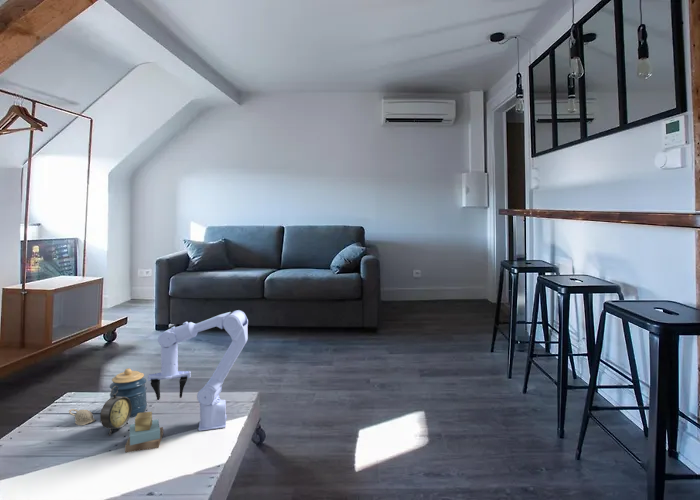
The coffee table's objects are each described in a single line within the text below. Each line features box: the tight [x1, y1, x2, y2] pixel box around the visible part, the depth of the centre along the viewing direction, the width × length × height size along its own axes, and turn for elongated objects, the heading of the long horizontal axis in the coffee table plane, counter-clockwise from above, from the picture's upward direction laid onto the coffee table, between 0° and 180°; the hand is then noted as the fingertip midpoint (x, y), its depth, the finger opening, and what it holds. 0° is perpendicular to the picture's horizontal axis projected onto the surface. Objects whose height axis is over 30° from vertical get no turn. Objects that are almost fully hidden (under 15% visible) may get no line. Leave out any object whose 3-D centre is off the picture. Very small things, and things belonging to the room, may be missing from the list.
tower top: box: [129, 418, 161, 445], centre depth 139 cm, size 9×9×3 cm
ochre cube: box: [134, 411, 153, 432], centre depth 139 cm, size 4×4×4 cm
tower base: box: [124, 426, 164, 454], centre depth 140 cm, size 10×10×3 cm
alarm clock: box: [99, 386, 132, 437], centre depth 148 cm, size 11×5×16 cm, turn 168°
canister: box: [109, 368, 148, 418], centre depth 163 cm, size 13×13×18 cm
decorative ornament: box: [68, 408, 97, 426], centre depth 154 cm, size 4×8×5 cm, turn 87°
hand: (169, 397), depth 152 cm, fingers open, 7 cm apart
